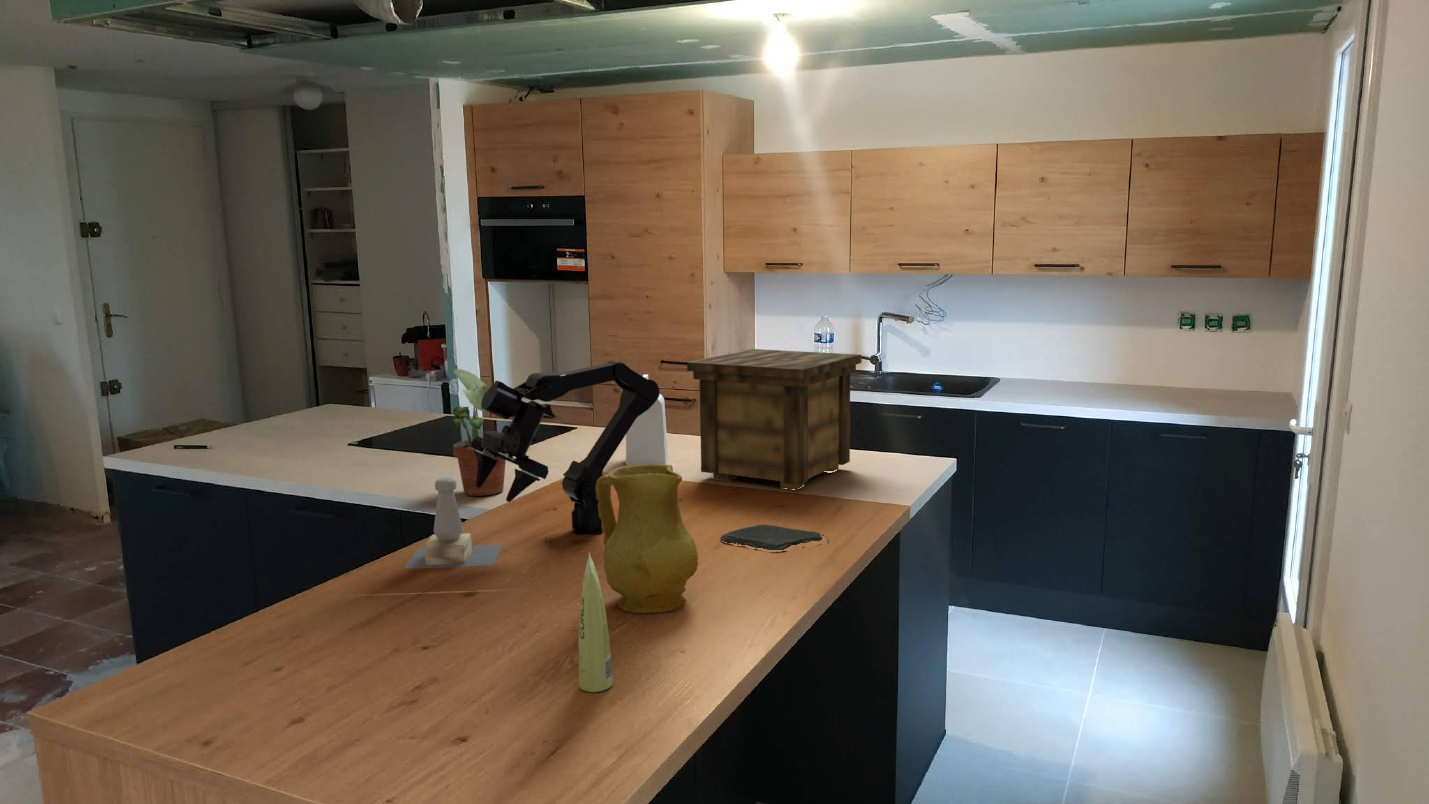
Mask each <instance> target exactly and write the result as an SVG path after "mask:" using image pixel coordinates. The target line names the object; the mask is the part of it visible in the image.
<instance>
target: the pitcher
mask: <svg viewBox="0 0 1429 804" xmlns="http://www.w3.org/2000/svg"><path fill="white" fill-rule="evenodd" d="M673 470H674V467H673V465H671V464H666V465H661V464H642V465H633V466H626V465H625V466H620V467H617V468H614V469H612V470H610V471H609V472H608V473H606V474H603V475H602V477H600V478H599V479H598V480H597V482H596V498H597V500H598V502H599V503H598V512H599V518H600V519H602V523H601V525H602V530H603V534H604V535H603V545H604V550H603V558H604V560H603V561H604V563H603V569H604V573H605V579H606V582H607V585H609V587H610V589H611V590H613V591H614V592H616V593H617V594H619V595H621V597H619V599H618V601H617V605H618V607H619V608H620V609H621V610H623V611H624V612H629V613H633V614H651V613H652V614H657V613H666V612H670V611H671V612H672V611H675V610H678V609H680V608H683V607H685V606H686V601H687V599H686V598H685V597H684V595H683V593H685V592H686V590H687V589H686V588H685V587H686V584H687V582H688V580H690V578H691V577H693V576H694V575H695V573H696V572H697V571H698V565H699V552H698V550H697V546H696V542H695V540H694V539H693V537H692V536H691V534H690V533H689V531H688V529H687V528H686V527H685V524H684V521H683V518H682V514H681V510H680V505H679V500H678V499H679V497H678V496H679V494H678V490H679V485H680V483H682V481H683V477H682V475H681V474H679V473H678V472H676V471H675V472H674V471H673ZM612 486H613V489H614V490H615V492H616V494H617V498H618V499H617V500H618V512H617V513H618V514H617V520H616V517H615V513H614V507H613V501H612Z"/></svg>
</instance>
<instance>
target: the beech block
mask: <svg viewBox="0 0 1429 804" xmlns="http://www.w3.org/2000/svg"><path fill="white" fill-rule="evenodd" d="M472 546H473V545H472V534H471V532H470V533H466V532H465V533H461V535H460V538H459V540H456V541H453V542H441V541H439V540H438V538H437V537H436V535H435V534H431V536H430V538H429V539H428V540H427V542H426V543H425V544H424V545H423V548H424V552H425V565H436V564H465V563H466V561H467V559H468V557H469V556H470V554H471V552H472Z"/></svg>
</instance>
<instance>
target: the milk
mask: <svg viewBox="0 0 1429 804" xmlns="http://www.w3.org/2000/svg"><path fill="white" fill-rule="evenodd" d="M642 376H643V377H644V378H646V379H649V374H643V375H642ZM665 405H666V404H665V398H664V396H663V395H662V394H661V393H660V395H659V397H658V399H657V401H656V402H655V403H654V404H653V405H652V406H651V407H650V408H649V409H648V410H647V411H646V412H644V413H643V414H641V415H640V416H638V417H637V418H636V420H635V421H634V423H633V424H632V426H631V427H630V429H629V430H628V432H627V434H626V435H625V441H626V442H625V445H626V446H625V466H633V465H642V464H661V465H668V460H669V451H668V437H667V435H668V434H667V420H666V417H667V416H666V406H665Z"/></svg>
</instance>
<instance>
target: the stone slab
mask: <svg viewBox="0 0 1429 804" xmlns="http://www.w3.org/2000/svg"><path fill="white" fill-rule="evenodd" d="M820 534H822V533H820V532H817V531H814V530H813V531H810V530H809V531H808V530H803V529H795V528H788V527H784V526H778V525H772V524H771V525H770V524H769V525H768V524H757V525H753V526H747V527H744V528H739V529H736V530H735V529H734V530H732V531H729V532H726V533H724V534H722V535H721V536H720V538H719V539H720V541H721V540H722V541H724V542H727V543H734V544H736V543H737V544H738V545H739V544H741V545H748V546H751V547H755V548H763V549H767V550H784V549H786V548H788V547H790V546H791V545H797V544H800V543H807V542H810V541H820V540H822V537H821V535H820ZM822 536H825V535H824V534H822Z"/></svg>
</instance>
